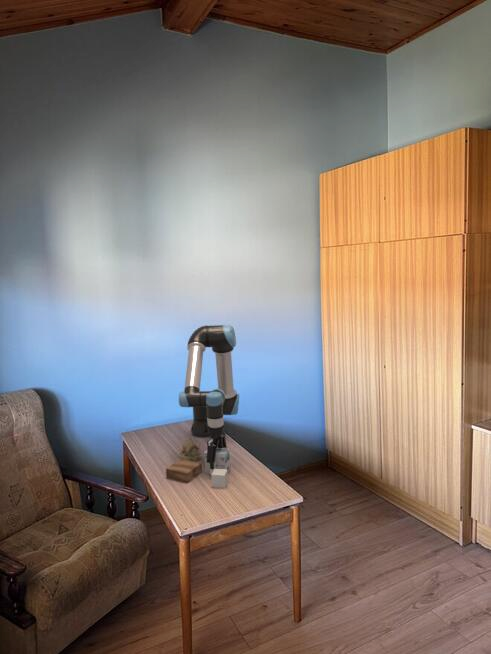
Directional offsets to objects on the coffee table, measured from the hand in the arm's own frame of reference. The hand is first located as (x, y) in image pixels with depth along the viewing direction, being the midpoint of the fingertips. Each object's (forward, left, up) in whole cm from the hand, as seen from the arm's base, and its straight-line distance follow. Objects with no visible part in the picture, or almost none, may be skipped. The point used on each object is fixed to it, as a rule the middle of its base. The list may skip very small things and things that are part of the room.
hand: (217, 470), depth 238 cm
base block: (+9, -13, -1) cm, 16 cm away
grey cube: (+11, +7, 0) cm, 13 cm away
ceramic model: (-11, -21, -1) cm, 24 cm away
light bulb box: (0, 0, -1) cm, 1 cm away
